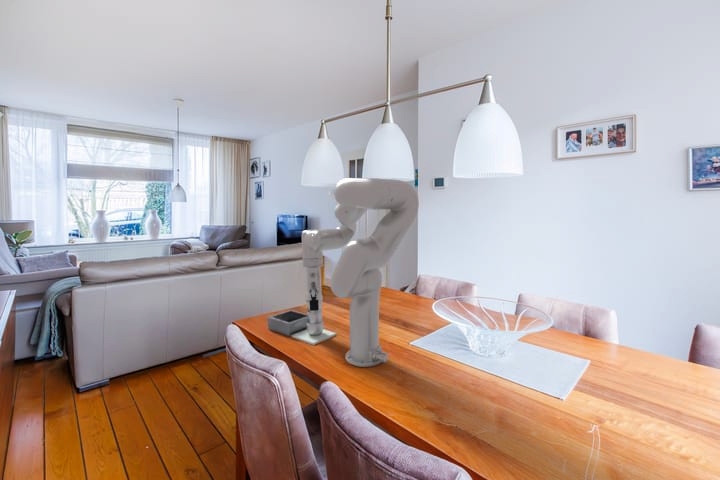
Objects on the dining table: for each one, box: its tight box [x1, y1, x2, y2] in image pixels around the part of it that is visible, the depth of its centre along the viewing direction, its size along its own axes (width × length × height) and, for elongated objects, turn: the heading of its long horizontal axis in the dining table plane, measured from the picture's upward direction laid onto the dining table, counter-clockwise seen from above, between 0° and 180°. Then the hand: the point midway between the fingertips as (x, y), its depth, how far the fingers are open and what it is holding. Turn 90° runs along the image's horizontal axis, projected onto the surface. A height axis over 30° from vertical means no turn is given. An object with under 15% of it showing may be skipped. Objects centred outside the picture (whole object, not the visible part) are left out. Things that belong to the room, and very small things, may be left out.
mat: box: [291, 328, 337, 346], centre depth 129 cm, size 12×12×1 cm
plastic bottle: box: [304, 291, 325, 335], centre depth 128 cm, size 6×7×20 cm
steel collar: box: [267, 309, 308, 338], centre depth 137 cm, size 13×12×5 cm
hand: (314, 306), depth 127 cm, fingers open, 9 cm apart
